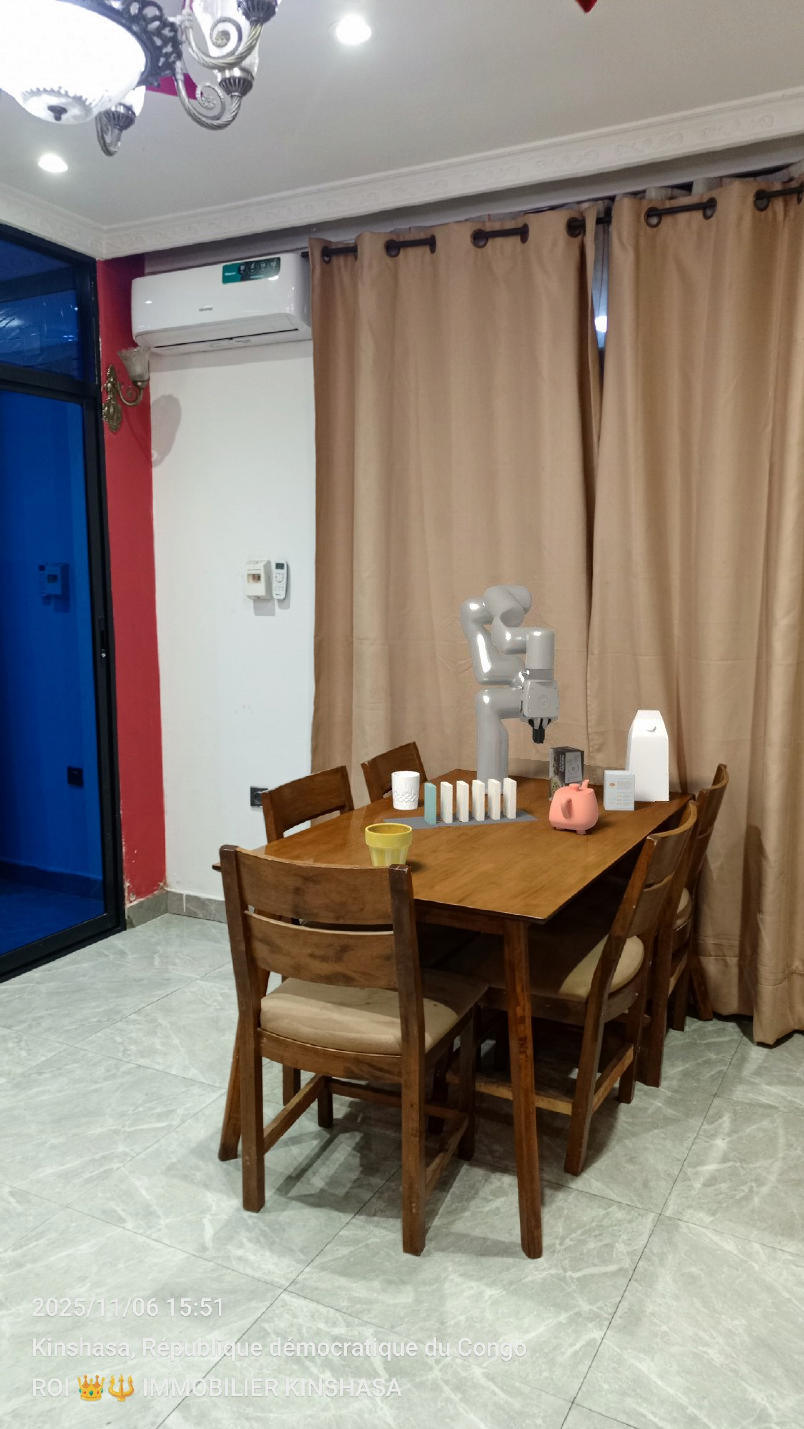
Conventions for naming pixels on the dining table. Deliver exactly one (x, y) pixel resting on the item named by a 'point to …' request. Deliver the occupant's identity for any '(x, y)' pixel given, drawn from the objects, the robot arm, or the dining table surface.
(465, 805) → the domino
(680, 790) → the dining table surface
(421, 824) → the mat
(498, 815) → the domino
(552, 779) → the coffee box
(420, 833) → the dining table surface
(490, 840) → the dining table surface
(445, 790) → the domino
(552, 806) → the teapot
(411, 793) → the white cup
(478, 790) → the domino
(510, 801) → the domino
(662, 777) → the milk
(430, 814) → the domino
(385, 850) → the plant pot
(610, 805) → the small box
